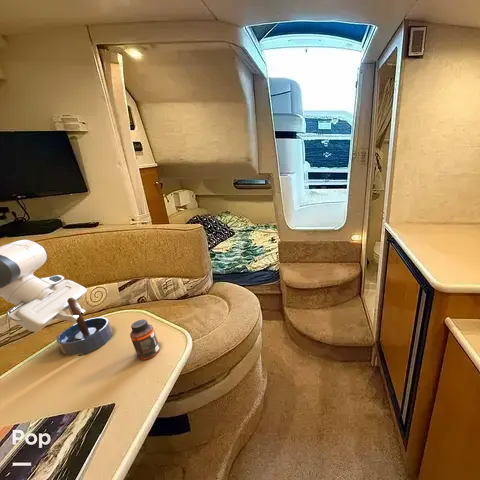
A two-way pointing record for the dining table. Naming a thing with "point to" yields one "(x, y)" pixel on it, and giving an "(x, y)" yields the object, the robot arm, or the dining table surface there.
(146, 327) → the supplement bottle
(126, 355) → the dining table surface
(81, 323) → the peg on round base
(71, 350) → the ring
